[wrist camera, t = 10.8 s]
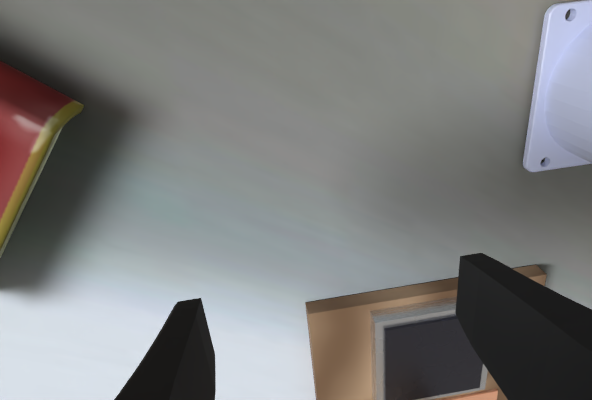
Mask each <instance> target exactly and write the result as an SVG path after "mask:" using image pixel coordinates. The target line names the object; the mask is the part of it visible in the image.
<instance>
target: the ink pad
mask: <svg viewBox="0 0 592 400" xmlns="http://www.w3.org/2000/svg"><path fill="white" fill-rule="evenodd" d="M456 300H457V296H456V297H450V298H444V299H438V300H432V301H426V302H420V303H414V304H408V305H402V306H396V307H390V308H384V309H378V310H372V311H370V334H371V372H372V397H373V400H430V399H435V398H441V397H446V396H451V395H457V394H462V393H468V392H473V391H478V390H484V389H485V386H486V379H487V372H488V370H487V368H486V367H485V365H484V364H483V362H482V361H481V359H480V358H479V356H478V355H477V353H476V352H475V350H474V349H473V347H472V346H471V344H470V342H469V340H468V338H467V336H466V334H465V332H464V330H463V328H462V326H461V324H460V322H459V320H458V318H457V316H456V314H455V311H456Z"/></svg>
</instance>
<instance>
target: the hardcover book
mask: <svg viewBox="0 0 592 400" xmlns="http://www.w3.org/2000/svg"><path fill="white" fill-rule="evenodd" d="M83 107H84V105H83V104H81V103H79V102H77V101H75V100H73V99H72V98H70V97H68V96H66V95H64V94H62V93H60V92H58V91H57V90H55V89H53V88H51V87H49V86H47V85H45V84H43V83H42V82H40V81H38V80H36V79H34V78H32V77H30V76H28V75H27V74H25V73H23V72H21V71H19V70H17V69H15V68H13V67H12V66H10V65H8V64H6V63H4V62H2V61H0V258H1V256H2V254H3V252H4V250H5V248H6V246H7V243H8V241H9V239H10V237H11V235H12V233H13V231H14V229H15V227H16V225H17V222H18V220H19V218H20V216H21V214H22V212H23V210H24V208H25V206H26V203H27V201H28V199H29V197H30V195H31V193H32V191H33V189H34V187H35V184H36V182H37V180H38V178H39V176H40V174H41V172H42V170H43V168H44V165H45V163H46V161H47V159H48V157H49V155H50V153H51V151H52V149H53V146H54V144H55V142H56V140H57V138H58V136H59V134H60V132H61V130H62V128H63V126H64V125H65V124H66V123H67V122H68V121H69V120H70V119H72V118H73V117H74V116H76V115H77V114H79V113H81V111H82V109H83Z"/></svg>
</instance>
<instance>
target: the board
mask: <svg viewBox="0 0 592 400" xmlns="http://www.w3.org/2000/svg"><path fill="white" fill-rule="evenodd" d="M513 270H515V271H517V272H519V273H521V274H523V275H524V276H526V277H528V278H530V279H532V280H534V281H535V282H537V283H539V284H541V285H543V286H544V285H545V280H546V275H547V274H546V273H544V272H543V271H542V270H541V269H540V268H539V267H538V266H537V265H531V266H525V267H519V268H513ZM457 288H458V278H452V279H446V280H440V281H434V282H428V283H422V284H416V285H410V286H403V287H397V288H391V289H385V290H379V291H373V292H367V293H361V294H355V295H349V296H343V297H337V298H331V299H325V300H318V301H312V302H306V312H307V321H308V330H309V339H310V348H311V357H312V366H313V375H314V384H315V393H316V400H373V397H372V372H371V334H370V311H372V310H378V309H384V308H390V307H396V306H402V305H408V304H414V303H420V302H426V301H432V300H438V299H444V298H450V297H456V296H457ZM491 389H497V390H498V395H497V400H508V399H507V398H506V396H505V395H504V393H503V392H502V390H501V389H500V388H499V386H498V385H497V383H496V382H495V380H494V379H493V377H492V376H491V374H490V373H489V371H488V372H487V379H486V386H485V389H484V390H478V391H473V392H468V393H462V394H457V395H451V396H446V397H441V398H435V399H430V400H437V399H443V398H448V397H454V396H459V395H464V394H470V393H475V392H481V391H486V390H491Z"/></svg>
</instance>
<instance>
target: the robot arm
mask: <svg viewBox="0 0 592 400" xmlns="http://www.w3.org/2000/svg"><path fill="white" fill-rule="evenodd" d="M568 10H570V16H569V18H568V19H567V20H566V19H565V15H566V12H567V11H568ZM543 158H545V161H544V162H543V163H542V164H540V163H541V160H542V159H543ZM586 164H592V0H582V1H574V2H565V3H557V4H554V5H552V6H551V7H549V8H548V10H547V11H546V13H545V17H544V23H543V29H542V36H541V43H540V50H539V56H538V63H537V70H536V77H535V83H534V90H533V97H532V104H531V110H530V117H529V124H528V131H527V137H526V144H525V151H524V158H523V167H524V168H525V169H526V170H528V171H530V172H539V171H545V170H552V169H559V168H566V167H572V166H579V165H586ZM455 314H456V316H457V318H458V320H459V322H460V324H461V326H462V328H463V330H464V332H465V334H466V336H467V338H468V340H469V342H470V344H471V346H472V347H473V349H474V350H475V352H476V353H477V355H478V356H479V358H480V359H481V361H482V362H483V364H484V365H485V367H486V368H487V370H488V371H489V373H490V374H491V376H492V377H493V379H494V380H495V382H496V383H497V385H498V386H499V388H500V389H501V390H502V392H503V393H504V395H505V396H506V398H507V399H508V400H592V310H591V309H589V308H587V307H585V306H583V305H581V304H579V303H576V302H574V301H572V300H570V299H568V298H566V297H564V296H562V295H560V294H558V293H556V292H554V291H553V290H551V289H549V288H547V287H545V286H543V285H541V284H539V283H537V282H535V281H534V280H532V279H530V278H528V277H526V276H524V275H523V274H521V273H519V272H517V271H515V270H513V269H511V268H510V267H508V266H506V265H504V264H502V263H500V262H499V261H497V260H495V259H493V258H491V257H489V256H487V255H485V254H483V253H478V254H472V255H465V256H460V266H459V277H458V288H457V300H456V311H455ZM114 400H215V353H214V349H213V345H212V341H211V337H210V333H209V329H208V325H207V321H206V317H205V313H204V309H203V305H202V300H201V298H198V299H192V300H186V301H180V302H177V304H176V305H175V306H174V308H173V310H172V312H171V313H170V315H169V317H168V319H167V320H166V322H165V324H164V326H163V327H162V329H161V331H160V332H159V334H158V336H157V337H156V339H155V341H154V342H153V344H152V346H151V347H150V349H149V350H148V352H147V353H146V355H145V357H144V358H143V360H142V361H141V363H140V364H139V366H138V367H137V369H136V370H135V372H134V373H133V374H132V376H131V377H130V379H129V380H128V381H127V383H126V384H125V386H124V387H123V389H122V390H121V391H120V393H119V394H118V395H117V397H116V398H115V399H114Z"/></svg>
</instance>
